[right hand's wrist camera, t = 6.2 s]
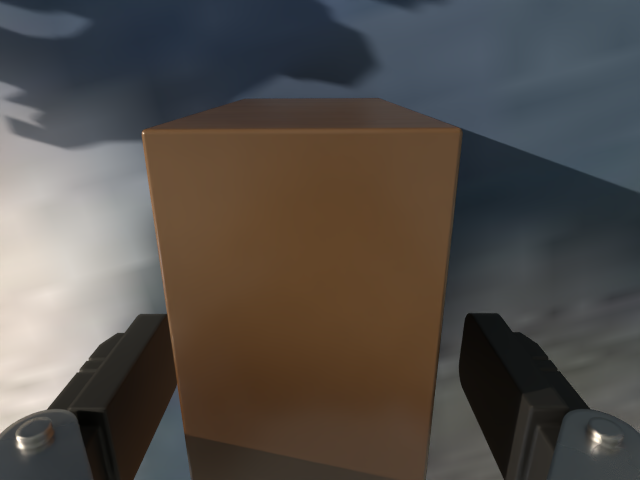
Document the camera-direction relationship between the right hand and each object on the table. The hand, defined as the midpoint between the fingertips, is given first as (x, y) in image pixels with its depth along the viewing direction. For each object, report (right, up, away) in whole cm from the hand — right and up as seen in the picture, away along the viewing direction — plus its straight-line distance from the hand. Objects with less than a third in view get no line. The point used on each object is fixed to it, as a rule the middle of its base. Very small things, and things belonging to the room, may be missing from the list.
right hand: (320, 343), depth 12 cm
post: (0, -28, +16) cm, 32 cm away
